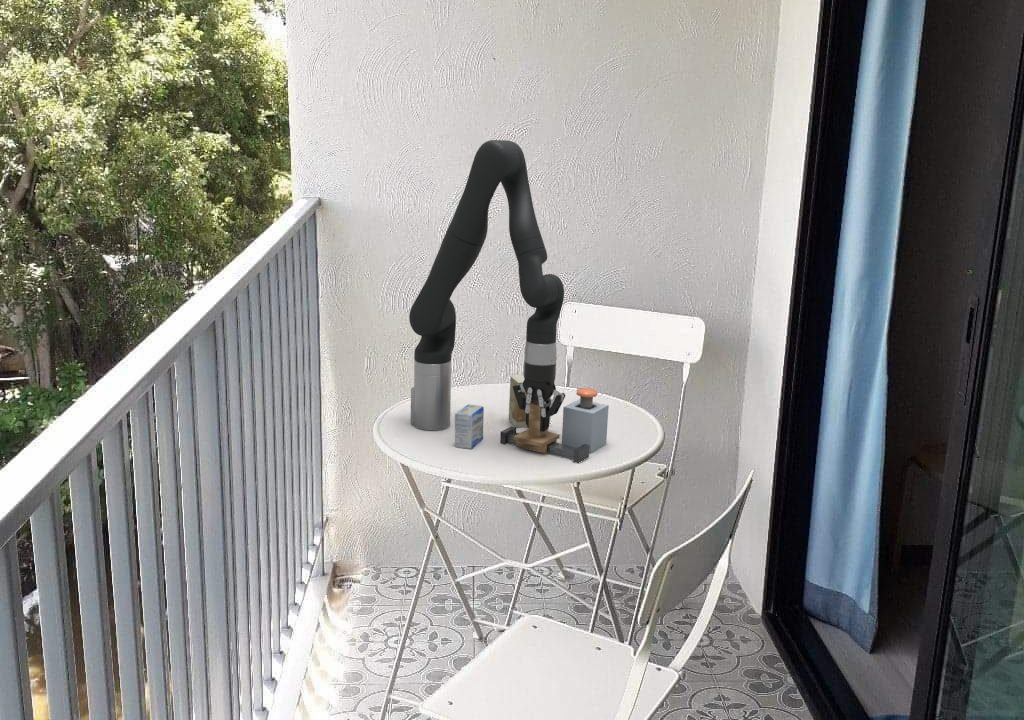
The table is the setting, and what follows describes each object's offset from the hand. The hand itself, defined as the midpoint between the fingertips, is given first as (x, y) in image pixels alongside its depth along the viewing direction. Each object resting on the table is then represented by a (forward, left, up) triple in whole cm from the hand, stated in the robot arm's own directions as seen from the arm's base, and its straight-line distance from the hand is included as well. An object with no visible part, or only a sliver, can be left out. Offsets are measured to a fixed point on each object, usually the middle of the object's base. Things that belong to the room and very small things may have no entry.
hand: (537, 428), depth 240 cm
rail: (+2, 0, -5) cm, 5 cm away
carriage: (0, 0, -5) cm, 5 cm away
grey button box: (+8, +9, -5) cm, 13 cm away
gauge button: (+8, +9, +2) cm, 12 cm away
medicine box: (-15, -7, -5) cm, 17 cm away
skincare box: (-13, +13, -5) cm, 19 cm away
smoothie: (-5, +10, -5) cm, 12 cm away
